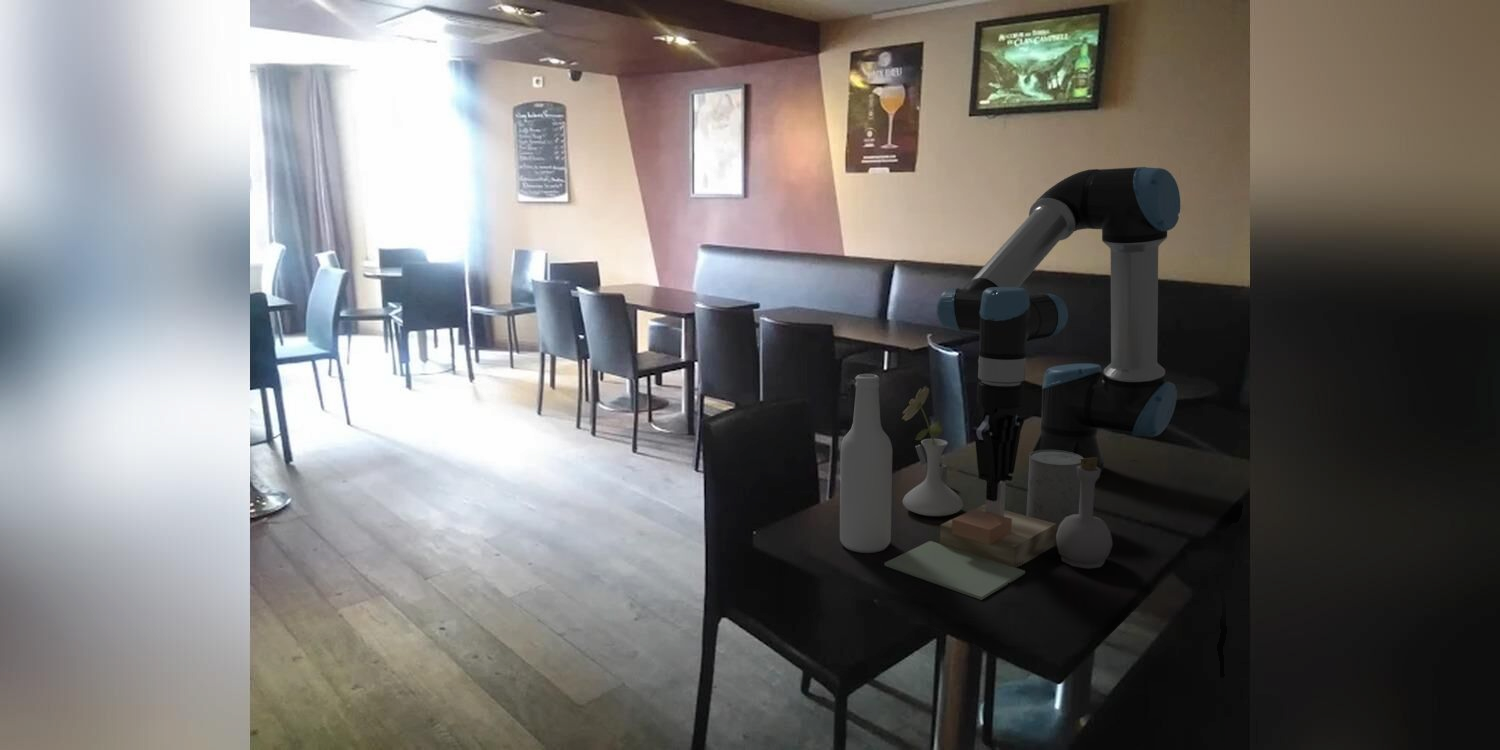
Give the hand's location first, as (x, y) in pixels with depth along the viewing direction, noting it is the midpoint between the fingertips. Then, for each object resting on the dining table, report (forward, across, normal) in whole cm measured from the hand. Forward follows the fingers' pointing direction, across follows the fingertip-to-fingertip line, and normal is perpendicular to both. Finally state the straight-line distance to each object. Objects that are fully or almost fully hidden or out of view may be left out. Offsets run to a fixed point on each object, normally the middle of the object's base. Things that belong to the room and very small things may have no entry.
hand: (994, 516), depth 149 cm
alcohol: (+6, +14, -17) cm, 23 cm away
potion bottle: (+6, -6, +13) cm, 16 cm away
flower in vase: (+6, -7, -18) cm, 20 cm away
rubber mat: (+6, +12, 0) cm, 14 cm away
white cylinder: (+6, -19, +1) cm, 20 cm away
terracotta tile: (+2, +4, 0) cm, 5 cm away
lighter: (+6, -22, -28) cm, 36 cm away
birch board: (+6, -1, 0) cm, 6 cm away
